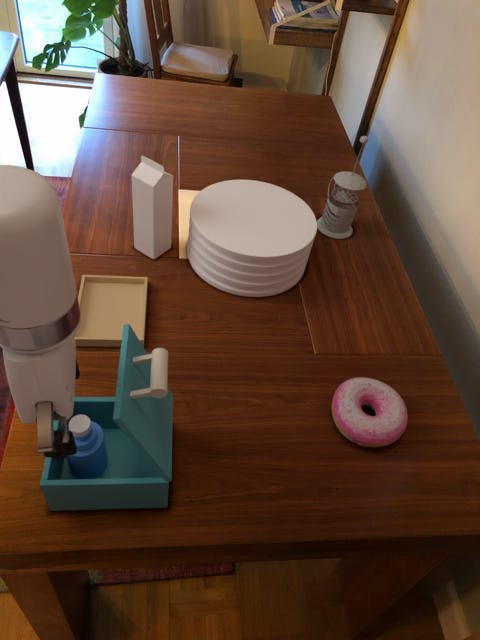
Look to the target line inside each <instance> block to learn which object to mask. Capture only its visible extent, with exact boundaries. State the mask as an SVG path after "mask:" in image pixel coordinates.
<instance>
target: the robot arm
mask: <svg viewBox="0 0 480 640" xmlns="http://www.w3.org/2000/svg"><path fill="white" fill-rule="evenodd" d="M57 192H58V191H57V190H56V188H55V187H54V185H53V184H52V182H51V181H50V180H48V179H47V178H46V177H45V176H43V175H42V174H41V173H39V172H37V171H35V170H33V169H30V168H26V167H23V166H20V165H19V166H18V165H12V164H0V348H2V356H3V364H4V369H5V375H6V379H7V383H8V386H9V390H10V394H11V396H12V400H13V402H14V406H15V409H16V413H17V414H18V417H19V420H20V422H22V423H23V425H34V424H36V425H35V427H36V448H37V449H36V450H37V453H38V454H43V456H44V457H45V458H46V457H51V458H52V459H62V458H66V457H67V455H74V454H76V453H77V447H76V443H75V440H74V436H73V433H72V432H71V431H69V428H68V419H69V418H70V417H71V416H72V415H73V410H74V397H75V392H76V381H77V380H79V378H80V375H81V373H80V369H79V364H78V359H77V346H76V342H75V334H76V332H77V330H78V329H79V327H80V324H81V311H80V306H79V301H78V291H77V285H76V279H75V274H74V268H73V263H72V257H71V253H70V247H69V242H68V241H69V240H68V236H67V231H66V225H65V221H64V220H65V219H64V215H63V210H62V205H61V201H60V197H59V194H58V193H57ZM54 420H60V421H61V430H55V431H54Z"/></svg>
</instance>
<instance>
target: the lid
mask: <svg viewBox="0 0 480 640" xmlns="http://www.w3.org/2000/svg"><path fill="white" fill-rule="evenodd" d="M168 376H169V351H168V350H167V349H166V348H164V347H156V348H154V349H153V350H152V351H151V353H148V351H147V350H146V348H145V346H144V347H143V345H142V344H141V342H140V340H139V339H138V337H137V336H136V334H135V332H134V331H133V329H132V327H131V326H130V324H125V325H123V334H122V343H121V347H120V352H119V360H118V370H117V378H116V379H117V380H116V386H115V387H116V388H115V395H114V397H115V405H114V413H113V420H114V421H115V423H116V424H117V425H118V426H119V427H120V428H121V430H122V431H123V432H124V433H125V434H126V435H127V437H128V438H129V439H130V440H131V441H132V442H133V444H134V445H135V446H136V447H137V448H138V450H139V451H140V452H141V453H142V454H143V455H144V457H145V458H146V459H147V460H148V461H149V462H150V464H151V465H152V466H153V467H154V468H155V469H156V471H157V472H158V473H159V474H160V475H161V476H162V478H163V479H164V480H165V481H166V482H168V481H169V482H172V476H173V474H172V472H173V421H174V419H173V416H174V415H173V414H174V394H173V392H172V391H171V389H170V388H169V386H168V382H169V379H168V378H169V377H168Z"/></svg>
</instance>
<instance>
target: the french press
mask: <svg viewBox="0 0 480 640" xmlns="http://www.w3.org/2000/svg"><path fill="white" fill-rule="evenodd" d="M359 142H360V143H361V147H360V150H359V153H358V155H357V158H356V161H355V164H354V167H353V170H352V171H344V170H343V171H339V172H337V173H335V174H334V175H333V177H332V178H331V179H330V181H329V183H328V187H327V189H328V190H327V201H326V203H325V207H324V209H323V213H322V216H321V217H319V218H317V219H316V221H317V230H318V231H319V232H320V233H321V234H323V235H325V236H326V237H329V238H332V239H338V240H339V239H340V240H344V239H346V238H350V236H352V235H353V230H354V229H353V227H352V224H353V221H354V219H355V215H356V213H357V211H358V208H359V204H360V202H359V201H360V196H359V194H358V193H357V192H361V191H363V190H365V189H366V188H367V184H368V183H367V181H366V180H365V178H364V177H362V176H361V175H360V174H358V173H356V172H355V170H356V167H357V165H358V161H359V158H360V155H361V152H362V149H363V146H364V144H367V143H369V137H368V136H367V135H362V136H360V138H359ZM333 180H334V185H333V189H331V190H330V186H331V184H332V181H333ZM336 185H337V186H338V187H336ZM330 191H331V192H330ZM333 201H334V203H333ZM350 205H351V206H350ZM330 211H331V212H330Z"/></svg>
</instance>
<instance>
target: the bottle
mask: <svg viewBox="0 0 480 640" xmlns="http://www.w3.org/2000/svg"><path fill="white" fill-rule="evenodd" d="M68 428H69V431H71V432H72V433H73V436H74V440H75V443H76V447H77V453H76V454H74V455H67V457H66V458H67V462H68V465H69V468H70V472H71V474H72V475H73V476H74V477H75V478H77V479H96V478H98V477H99V476H100V475H101V474H102V473H103V472H104V471H105V469H106V467H107V463H108V459H107V453H106V447H105V440H104V434H103V431H102V429H101V427H100V426H99V425H98V424H96V423H95V422H92V421H90V419H89V417H87V416H86V415H76V416H74V417H73V418H72V419H71V420H70V422H69V427H68Z"/></svg>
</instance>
